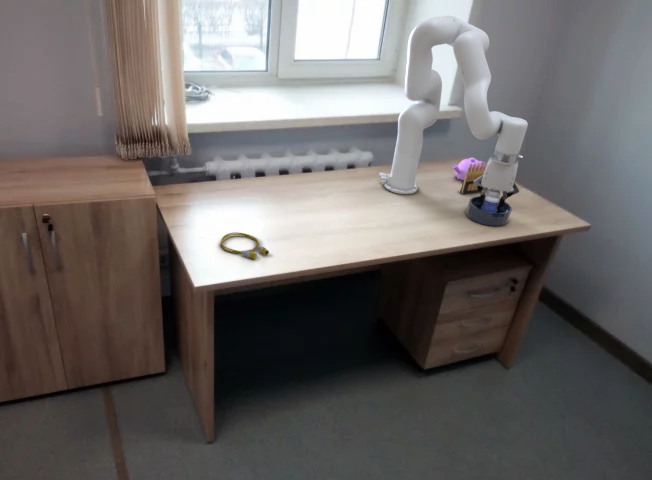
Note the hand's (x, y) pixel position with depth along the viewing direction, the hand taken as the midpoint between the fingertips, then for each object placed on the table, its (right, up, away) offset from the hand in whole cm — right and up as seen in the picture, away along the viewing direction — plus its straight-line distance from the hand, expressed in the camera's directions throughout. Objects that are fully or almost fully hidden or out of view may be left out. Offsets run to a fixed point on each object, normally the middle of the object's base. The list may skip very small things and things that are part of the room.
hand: (490, 205), depth 184 cm
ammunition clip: (+2, +8, +21) cm, 23 cm away
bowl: (0, -4, +3) cm, 4 cm away
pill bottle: (0, -4, +2) cm, 4 cm away
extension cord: (-85, -16, -25) cm, 90 cm away
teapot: (+2, +15, +31) cm, 34 cm away
